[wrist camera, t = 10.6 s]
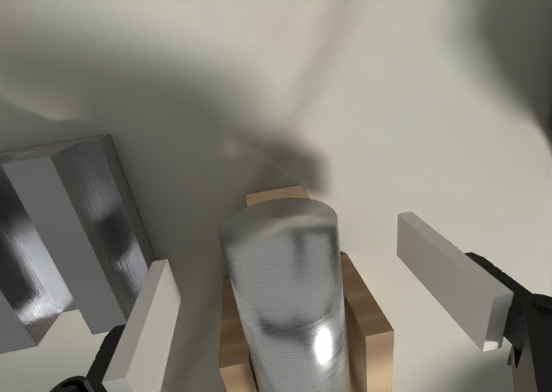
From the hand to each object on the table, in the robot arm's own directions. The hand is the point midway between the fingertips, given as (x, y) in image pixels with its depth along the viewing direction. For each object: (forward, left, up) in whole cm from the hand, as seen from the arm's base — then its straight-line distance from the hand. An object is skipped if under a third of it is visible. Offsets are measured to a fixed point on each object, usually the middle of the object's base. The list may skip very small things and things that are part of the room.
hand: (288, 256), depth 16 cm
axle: (0, +3, +3) cm, 4 cm away
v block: (+13, -2, -4) cm, 14 cm away
